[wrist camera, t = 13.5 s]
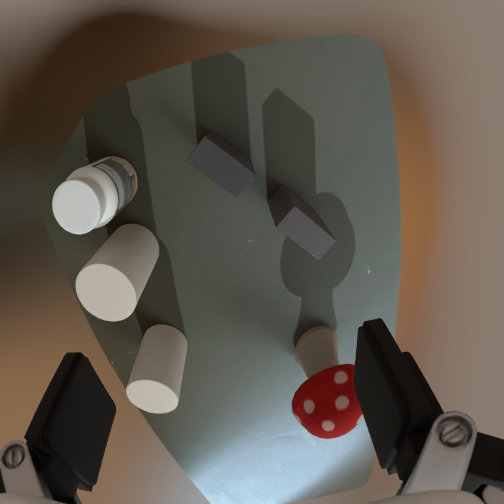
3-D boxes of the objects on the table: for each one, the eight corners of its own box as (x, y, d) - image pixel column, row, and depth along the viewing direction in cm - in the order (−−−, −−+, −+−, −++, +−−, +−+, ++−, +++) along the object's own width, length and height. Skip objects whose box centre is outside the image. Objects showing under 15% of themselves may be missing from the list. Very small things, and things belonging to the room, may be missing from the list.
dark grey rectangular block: (266, 201, 34) (275, 227, 27) (281, 183, 33) (294, 205, 26) (301, 228, 35) (318, 260, 28) (316, 212, 35) (337, 240, 27)
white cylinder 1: (102, 252, 35) (67, 297, 26) (125, 213, 34) (90, 250, 25) (143, 280, 37) (119, 332, 28) (169, 243, 35) (148, 289, 26)
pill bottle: (98, 210, 33) (57, 245, 24) (87, 160, 31) (39, 181, 22) (143, 201, 33) (112, 236, 24) (134, 150, 31) (96, 166, 22)
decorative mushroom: (311, 303, 40) (342, 393, 26) (360, 327, 42) (400, 410, 28) (268, 356, 43) (279, 447, 29) (317, 374, 45) (339, 458, 31)
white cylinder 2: (136, 343, 41) (118, 397, 32) (157, 316, 39) (139, 371, 30) (173, 364, 43) (162, 419, 34) (196, 339, 41) (188, 397, 32)
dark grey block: (197, 149, 31) (185, 160, 24) (212, 130, 31) (204, 136, 23) (236, 178, 33) (236, 198, 25) (251, 160, 32) (255, 174, 25)
